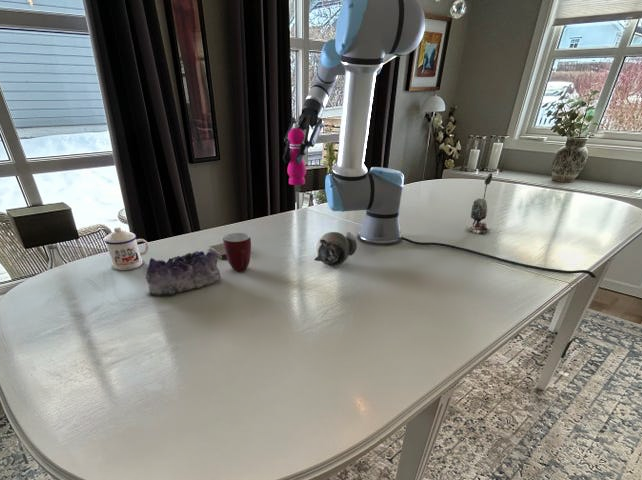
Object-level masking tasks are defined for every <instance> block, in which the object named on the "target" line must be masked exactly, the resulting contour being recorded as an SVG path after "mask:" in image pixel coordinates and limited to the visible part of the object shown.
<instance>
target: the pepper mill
mask: <svg viewBox="0 0 642 480" xmlns="http://www.w3.org/2000/svg"><path fill="white" fill-rule="evenodd" d="M288 139H289V141H290V143H291V144H290V148H291V155H290V158H289V161H288V165H287V171H286V172H287V175H288V176H289V178H288V184H289V185H292V186H303V185H305V184H306V179H305V176H306V174H307V167H306V164H305V162H304V159H303V158H302V160H301V162H300V164H298V163H297V162H296V160H295V158H296V156H297V153H298V151H299V149H300V146H301V144H302V143H304V142H303V141H304V140H305V131H304V132H303V131H302V130H301V129H299V128H298V124H297V123H295V124H294V128H293V129H291V130H290V131H289V133H288Z"/></svg>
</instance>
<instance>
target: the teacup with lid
mask: <svg viewBox="0 0 642 480" xmlns="http://www.w3.org/2000/svg"><path fill="white" fill-rule="evenodd" d="M103 241H104V243H105V245H106V248H107V251H108V254H109V257H110V260H111V264H112V266H113V268H114V269H115V270H118V271H128V270H134V269H137V268H139V267H140V266H142V265H143V259H142V256H145V255H147V253H148V252H149V248H150V245H149V243H148V241H147V240H145V239H144V238H138V239H137V235H136V234H135V233H134V232H131V231H126V230H124V229H123V230H122V228H121V227H120V226H119V227H118V226H117V227H114V228H113V231H112V232H110V233H109V234H107V235H105V236H104V238H103ZM138 243H144V244H145V250H144V251H142V252H140V249H139V244H138Z"/></svg>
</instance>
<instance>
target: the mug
mask: <svg viewBox="0 0 642 480" xmlns="http://www.w3.org/2000/svg"><path fill="white" fill-rule="evenodd" d="M222 242H223V243H222V244H224V249H225V252H226V255H227V258H226V259H227V261H228V264H229V266H230V267H231V268H232V270H233V271H234V272H237V273H241V272H245V271H247V270H248V267H249V265H250V262H251V255H252V254H251V252H252V239H251V235H250V234H248V233H244V232H233V233H228V234H226V235H224V236H223V237H222Z"/></svg>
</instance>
